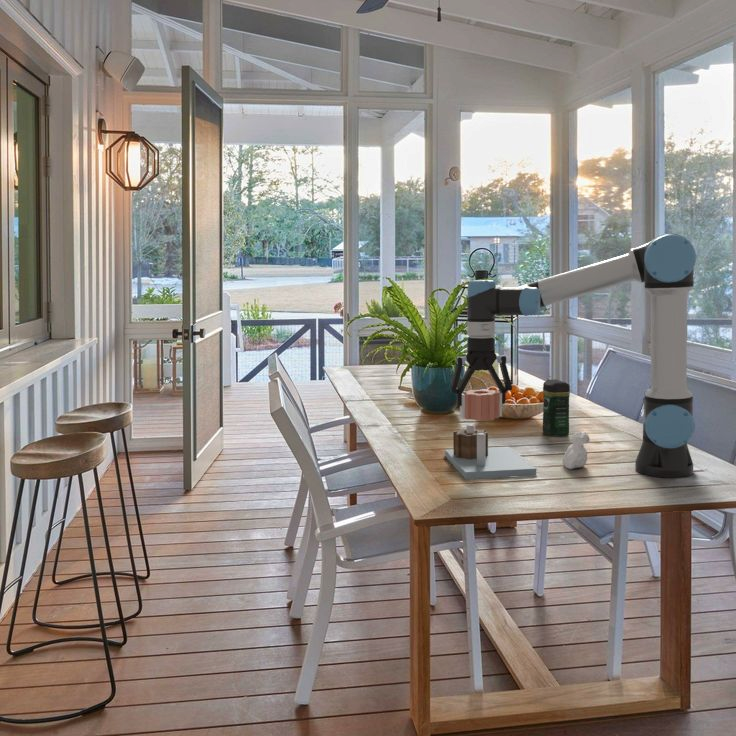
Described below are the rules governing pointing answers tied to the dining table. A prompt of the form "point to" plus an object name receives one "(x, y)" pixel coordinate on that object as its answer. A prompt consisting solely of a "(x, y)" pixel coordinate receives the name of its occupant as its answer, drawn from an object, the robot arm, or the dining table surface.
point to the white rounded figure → (576, 451)
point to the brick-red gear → (481, 404)
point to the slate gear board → (490, 461)
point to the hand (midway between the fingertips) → (480, 416)
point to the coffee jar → (556, 407)
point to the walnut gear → (467, 443)
